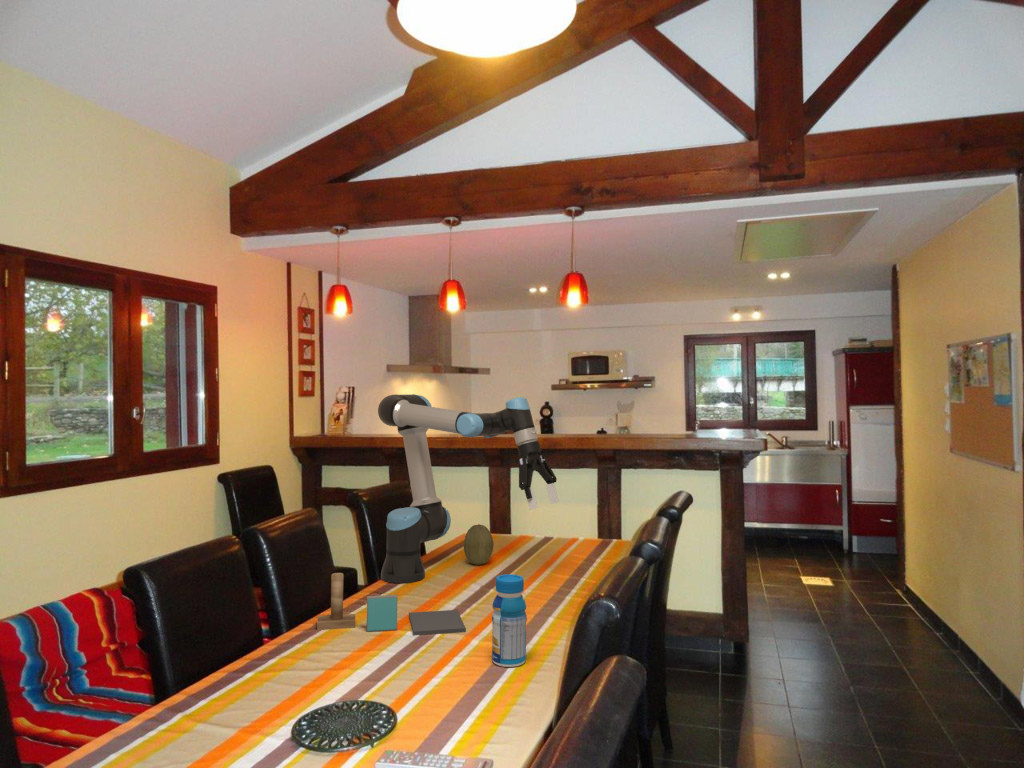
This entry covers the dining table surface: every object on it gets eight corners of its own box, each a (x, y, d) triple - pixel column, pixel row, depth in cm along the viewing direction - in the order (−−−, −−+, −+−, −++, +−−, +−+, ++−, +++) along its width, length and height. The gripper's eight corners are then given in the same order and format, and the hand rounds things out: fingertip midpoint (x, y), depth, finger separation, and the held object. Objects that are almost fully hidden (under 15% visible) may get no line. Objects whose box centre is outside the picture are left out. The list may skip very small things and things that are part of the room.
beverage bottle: (514, 671, 157) (515, 584, 157) (484, 663, 162) (485, 578, 162) (532, 659, 164) (533, 576, 165) (503, 652, 169) (504, 571, 169)
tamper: (318, 623, 189) (319, 572, 189) (355, 620, 191) (356, 570, 191) (317, 630, 183) (317, 578, 183) (355, 627, 185) (356, 576, 185)
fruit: (499, 563, 258) (499, 523, 258) (482, 569, 249) (482, 528, 249) (474, 559, 264) (475, 520, 265) (457, 565, 255) (457, 525, 255)
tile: (366, 629, 184) (367, 596, 184) (396, 627, 186) (397, 594, 186) (366, 632, 182) (367, 598, 182) (397, 630, 183) (397, 597, 184)
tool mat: (408, 616, 195) (408, 612, 195) (457, 613, 198) (457, 609, 198) (413, 635, 180) (413, 631, 180) (465, 631, 183) (465, 628, 183)
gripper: (516, 442, 214) (534, 508, 210) (555, 438, 235) (572, 498, 231) (497, 448, 218) (514, 513, 214) (537, 444, 238) (554, 503, 235)
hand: (544, 505), depth 222 cm, fingers open, 13 cm apart
